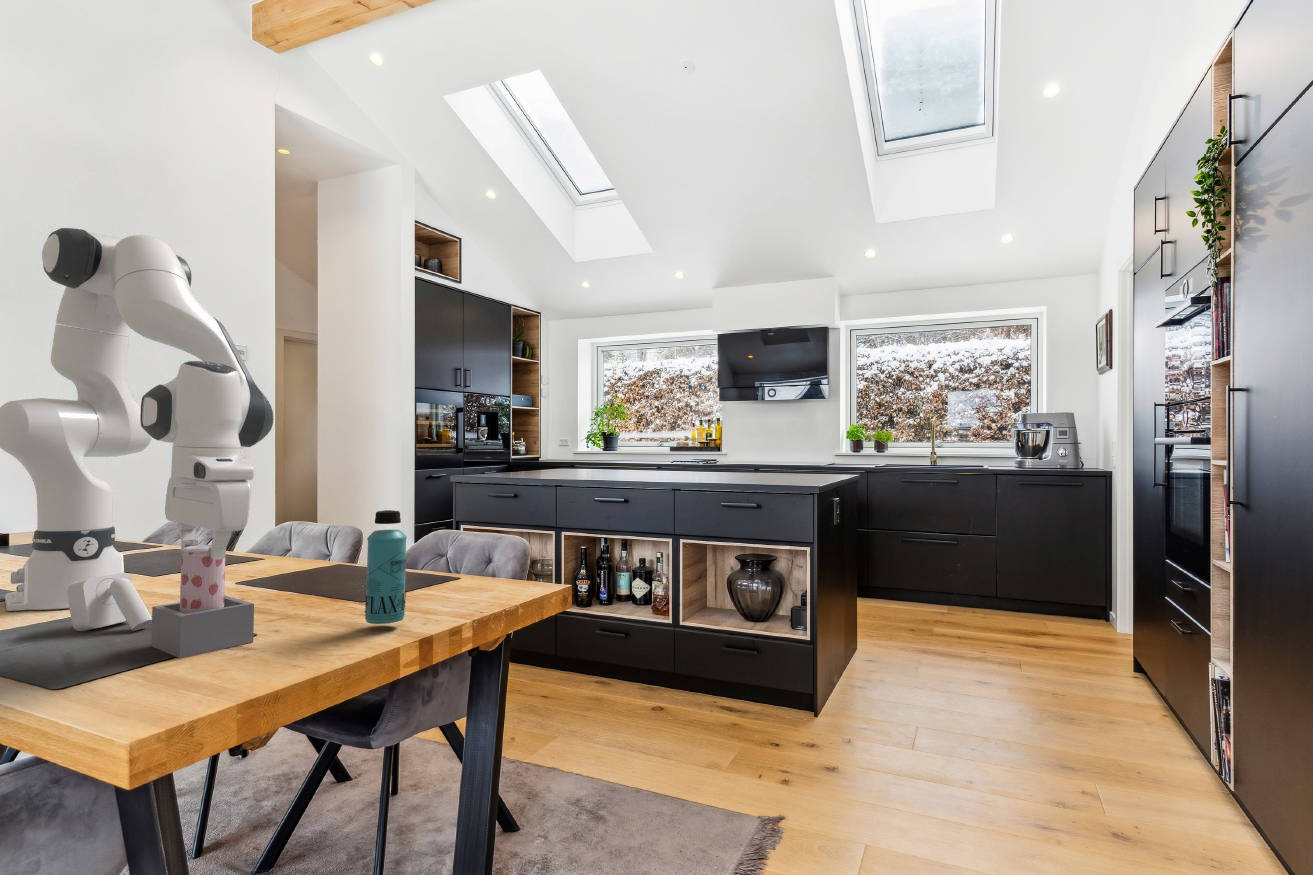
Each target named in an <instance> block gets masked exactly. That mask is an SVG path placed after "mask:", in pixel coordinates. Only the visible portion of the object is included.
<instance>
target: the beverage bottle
mask: <svg viewBox="0 0 1313 875" xmlns="http://www.w3.org/2000/svg"><path fill="white" fill-rule="evenodd" d="M401 522H402V520H401V512H400V510H393V509H392V510H391V509H388V510H387V509H386V510H385V509H384V510H379V511H376V512H375V518H374V524H378V525H394V524H395V525H396V524H400V523H401ZM407 538H408V537H407V535H406V534H405V533H404V532H403V531H402V530H400V529H389V528H388V529H379V530H378V529H377V530H374V531H373V532H371V534H370V535H368V536H367V552H366V553H367V554H366V555H367V557H366V559H367V562H366V577H365V589H364V592H365V593H364V594H365V602H364V618H365V622H366V623H368V624H371V625H387V624H394V623H398V622H400V621H401V622H402V620H403V619H404V618H405V615H406V610H405V608H406V603H407V602H406V598H407V597H406V596H407V594H406V593H407V592H406V587H407V586H406V572H407V571H406V568H407V559H408V557H407V556H406V555H407V552H406V551H407V549H406V548H407Z"/></svg>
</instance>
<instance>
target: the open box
mask: <svg viewBox="0 0 1313 875" xmlns="http://www.w3.org/2000/svg"><path fill="white" fill-rule="evenodd" d="M151 609H152V610H151V617H152V623H151V637H150V638H151V640H150V641H151V642H150V643H151V644H150V646H151V647H152V648H155V649H157V650H159V651H162V652H164V653H166V654H168V655H171V656H173V657H176V658H178V659H182V658H187V657H192V656H196V655H200V654H205V653H210V652H215V651H218V650H224V649H228V648H232V647H237V646H242V645H247V644H251V643H254V631H255V630H254V624H255V603H253V602H249V601H246V600H243V599H238V598H235V597H231V596H228V595H225V594H224V608H218V609H212V610H206V611H200V612H194V613H189V614H184V613H181V612H180V601H179V602H174V603H168V604H167V603H166V604H161V605H155V606H154V605H152V606H151Z"/></svg>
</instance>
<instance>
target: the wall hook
mask: <svg viewBox="0 0 1313 875" xmlns="http://www.w3.org/2000/svg"><path fill="white" fill-rule="evenodd" d="M67 595H68V602H69V608H68V609H69V612H70V620H71V625H72V627H73V629H74V630H75V631H77V632H85V631H90V630H94V629H99V628H103V627H107V626H110V625H111V626H112V625H116V624H120V623H123V622H127V623H128V626H129V627H130V629H131V631H138V630H142V629H144V628H146V627H147V626H149V625H150V624H151V625H152V614H151V613H150V612H149V610H148V608H147V606H146V605H145V603H144V601H143V600H142V598H141V597H140V595H139V592H138V591H137V589H136V588H135V586H134V584H133V580H132V577H131V575H130V574H129V573H127V572H124V573H118V574H112V575H106V576H101V577H95V578H90V579H86V580H81V581H77V582H74V583H72V584H70V585H69V586H68V589H67Z"/></svg>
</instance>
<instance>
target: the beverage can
mask: <svg viewBox="0 0 1313 875" xmlns="http://www.w3.org/2000/svg"><path fill="white" fill-rule="evenodd" d="M211 545H212V544H201V545H199V544H198V545H197V546H190V547H185V548H184V549H183V551H182V553H181V555H180V556H181V557H180V559H181V561H180V584H179V585H180V589H179V590H180V591H179V592H180V593H179V602H180V612H181V613H184V614H189V613H194V612H200V611H206V610H212V609H218V608H224V595H225V588H226V587H225V584H226V583H225V582H226V580H225V579H226V557H225V558H224V559H219V560H213V559H210V558H209V557H208V554H209V552H208V550H209V547H211Z"/></svg>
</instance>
